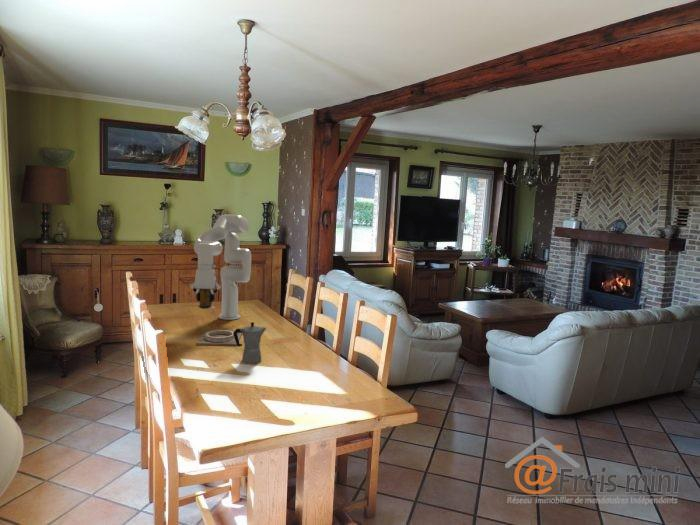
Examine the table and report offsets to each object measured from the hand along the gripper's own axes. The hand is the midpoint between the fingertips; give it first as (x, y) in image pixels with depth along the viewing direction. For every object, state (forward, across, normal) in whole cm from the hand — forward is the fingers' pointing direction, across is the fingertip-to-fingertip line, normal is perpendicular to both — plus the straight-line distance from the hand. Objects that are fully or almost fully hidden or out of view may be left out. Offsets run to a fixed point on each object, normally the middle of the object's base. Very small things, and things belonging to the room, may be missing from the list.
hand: (205, 300), depth 254 cm
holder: (+19, -8, +3) cm, 21 cm away
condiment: (+3, 0, 0) cm, 3 cm away
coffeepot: (+20, -28, +33) cm, 48 cm away
